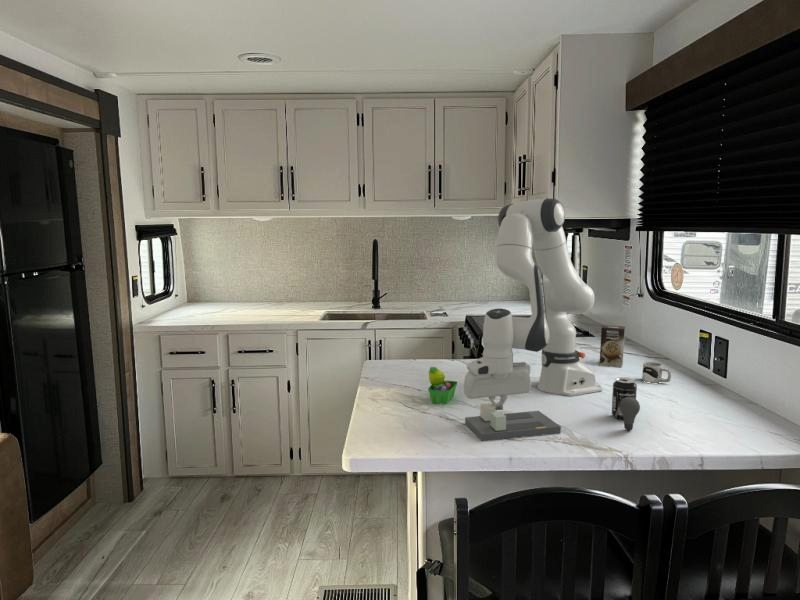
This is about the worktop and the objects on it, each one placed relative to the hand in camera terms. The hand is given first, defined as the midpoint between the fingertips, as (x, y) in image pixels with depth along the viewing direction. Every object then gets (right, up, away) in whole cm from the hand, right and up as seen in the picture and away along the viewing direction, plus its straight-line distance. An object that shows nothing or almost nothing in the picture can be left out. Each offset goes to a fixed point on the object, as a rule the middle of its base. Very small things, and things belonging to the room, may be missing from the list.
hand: (497, 409), depth 177 cm
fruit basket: (-15, -1, +25) cm, 29 cm away
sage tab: (-1, -4, -8) cm, 9 cm away
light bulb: (+37, -5, -5) cm, 38 cm away
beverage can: (+40, -4, +6) cm, 40 cm away
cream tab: (-3, -3, 0) cm, 4 cm away
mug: (+66, +2, +43) cm, 79 cm away
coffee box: (+58, +6, +67) cm, 89 cm away
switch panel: (+4, -5, -2) cm, 7 cm away
